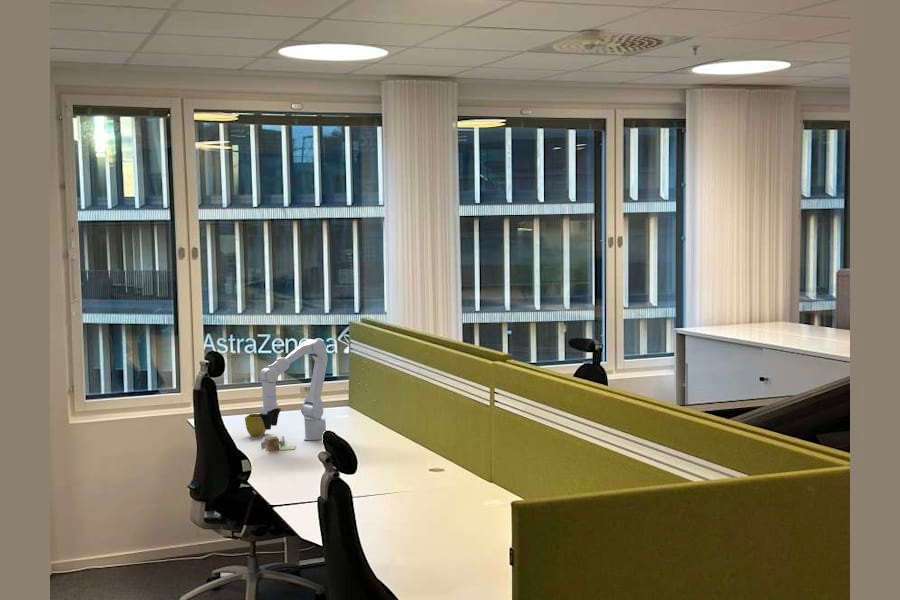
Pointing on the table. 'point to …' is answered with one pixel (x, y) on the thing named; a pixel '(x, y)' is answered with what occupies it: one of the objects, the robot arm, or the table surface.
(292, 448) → the coaster
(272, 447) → the block
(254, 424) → the flower pot
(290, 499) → the table surface
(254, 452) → the table surface
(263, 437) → the goalpost shaped bracket
